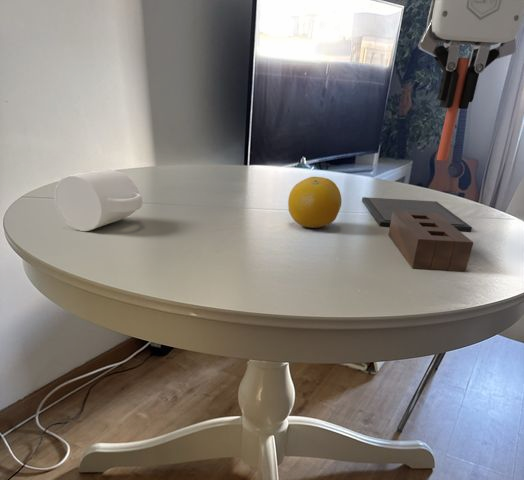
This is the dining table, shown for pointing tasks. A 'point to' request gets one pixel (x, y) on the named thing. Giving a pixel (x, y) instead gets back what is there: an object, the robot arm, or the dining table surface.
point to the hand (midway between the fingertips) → (453, 107)
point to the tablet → (410, 210)
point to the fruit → (314, 202)
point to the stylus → (452, 111)
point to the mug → (96, 198)
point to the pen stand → (429, 241)
